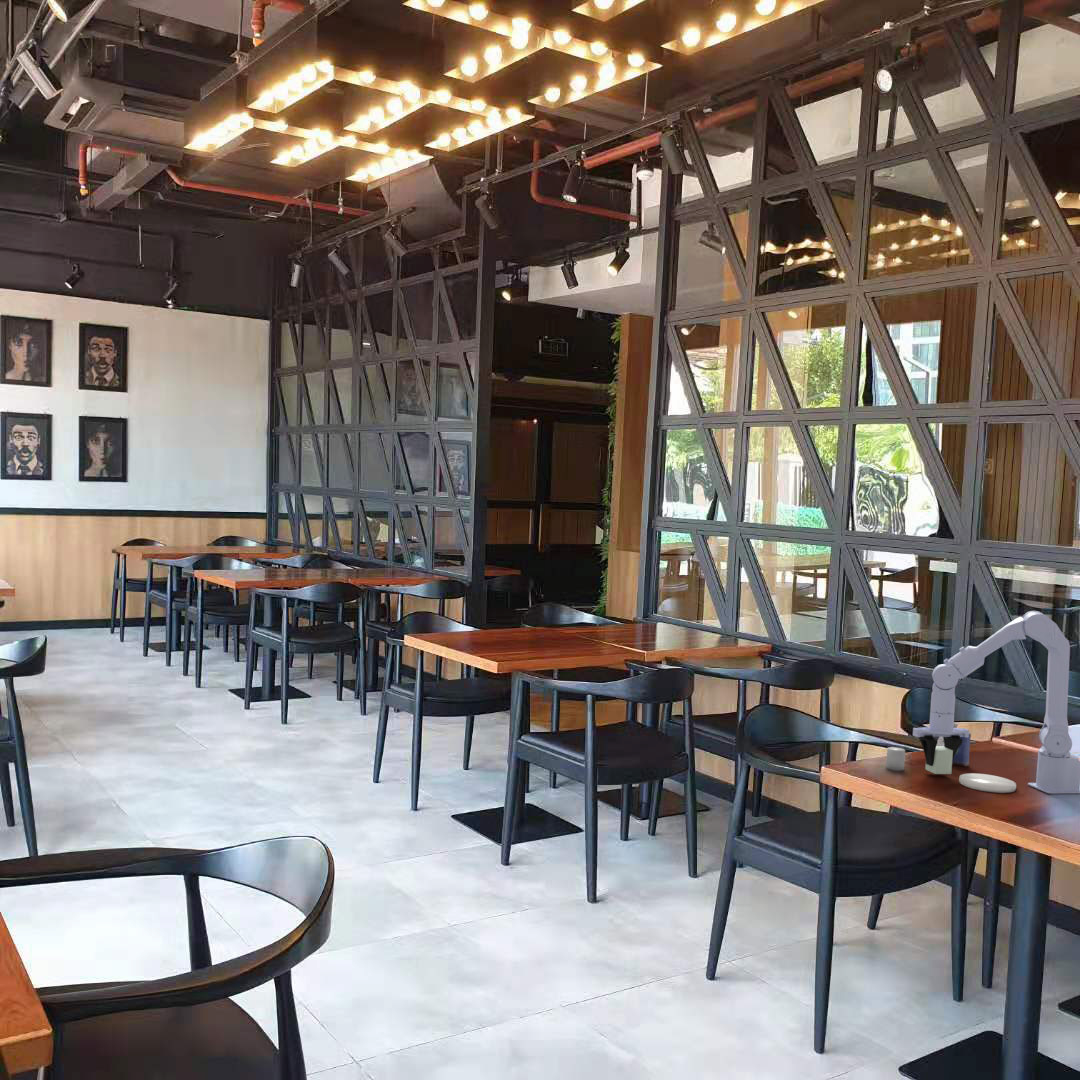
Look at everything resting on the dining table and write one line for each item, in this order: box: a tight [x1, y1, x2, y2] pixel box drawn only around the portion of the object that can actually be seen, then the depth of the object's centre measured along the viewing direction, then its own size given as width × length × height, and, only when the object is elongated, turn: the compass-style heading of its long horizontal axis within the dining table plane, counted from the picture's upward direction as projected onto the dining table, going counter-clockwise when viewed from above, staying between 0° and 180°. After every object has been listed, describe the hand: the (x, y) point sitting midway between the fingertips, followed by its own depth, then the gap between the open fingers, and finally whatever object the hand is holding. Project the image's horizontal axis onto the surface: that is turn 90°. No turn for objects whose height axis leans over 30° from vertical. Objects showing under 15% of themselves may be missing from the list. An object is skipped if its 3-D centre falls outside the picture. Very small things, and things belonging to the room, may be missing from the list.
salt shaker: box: [936, 737, 944, 746], centre depth 283 cm, size 4×4×9 cm
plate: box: [958, 772, 1017, 794], centre depth 267 cm, size 13×13×1 cm
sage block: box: [925, 745, 953, 775], centre depth 274 cm, size 4×4×6 cm
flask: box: [937, 722, 972, 767], centre depth 289 cm, size 9×3×11 cm, turn 37°
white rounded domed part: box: [885, 746, 906, 772], centre depth 279 cm, size 4×4×5 cm
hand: (938, 764), depth 274 cm, fingers closed on sage block, 4 cm apart
